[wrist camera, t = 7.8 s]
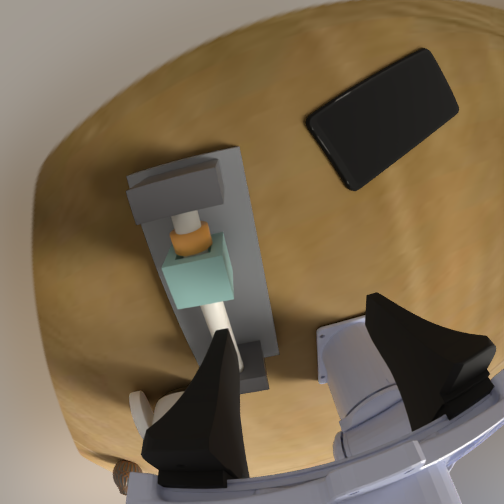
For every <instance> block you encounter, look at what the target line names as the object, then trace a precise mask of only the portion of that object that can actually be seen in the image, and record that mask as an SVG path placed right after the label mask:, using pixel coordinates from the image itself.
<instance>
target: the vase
mask: <svg viewBox="0 0 504 504" xmlns="http://www.w3.org/2000/svg"><path fill="white" fill-rule="evenodd" d="M130 472H140V473H142V470H141V468H140V467H139V466H138V465H137V464H135V463H133V462H130V461H125V460H122V461H120V462H118V463H117V464H116V465H115V467H114V470H113V479H114V482H115V484H116V485H117V487H118V488H119V491H120V493H121V494H123V495H127V490H128V482H129V475H130Z"/></svg>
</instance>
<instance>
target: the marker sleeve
mask: <svg viewBox="0 0 504 504" xmlns="http://www.w3.org/2000/svg"><path fill="white" fill-rule="evenodd" d="M211 238H212V241H213V243H212V245H211V246H210V247H209V248H208V251H209V253H206V254H201V255H196V256H191V257H187V258H184V257H183V256H179V255H177V254H176V253H175V250H174V247H173V244H172V245H171V247H170V249H169V252H168V254H167V256H166V258H165V261H164V263H163V265H162V271H163V274H164V276H165V279H166V281H167V284H168V287H169V289H170V292H171V294H172V297H173V299H174V302H175V304H176V306H177V309H183V308H189V307H195V306H200V305H206V304H212V303H217V302H222V301H228V300H233V299H234V288H233V270H232V266H231V262H230V258H229V254H228V250H227V246H226V242H225V238H224V234H223V232H219V233H215V234H211Z"/></svg>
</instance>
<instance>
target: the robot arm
mask: <svg viewBox="0 0 504 504" xmlns="http://www.w3.org/2000/svg"><path fill="white" fill-rule="evenodd" d="M316 333H317V356H318V382H319V384H324V383H328V386H329V388H330V391H331V394H332V397H333V400H334V403H335V405H336V408H337V411H338V414H339V417H340V419H341V420H340V421H339V423H340V426H341V429H342V431H340V432H338V433H337V434H336V436H335V440H334V442H333V454H334V458H335V461H334V462H330V463H327V464H323V465H319V466H315V467H311V468H306V469H302V470H297V471H292V472H287V473H281V474H275V475H269V476H261V477H253V478H250V477H249V472H248V466H247V461H246V455H245V449H244V442H243V435H242V427H241V419H240V370H239V361H238V355H237V352H236V349H235V346H234V343H233V340H232V338H231V335H230V332H229V329H228V328H226V329H220V330H216V331H215V333H214V336H213V339H212V341H211V344H210V346H209V349H208V351H207V353H206V355H205V357H204V359H203V362H202V364H201V365H200V367H199V369H198V371H197V373H196V375H195V376H194V378H193V380H192V381H191V383H190V384H189V386H188V387H187V389H186V390H185V391H184V393H183V394H182V395H181V397H180V398H179V399H178V400H177V402H176V403H175V404H174V405H173V406H172V407H171V408H170V409H169V410H168V411H167V412H166V413H165V414H164V415H163V416H162V417H161V418H160V419H159V420H158V421H157V422H155V423H154V424H153V425H152V426H151V427H149V428H148V429H147V430H146V433H145V436H144V440H143V446H142V452H141V455H142V457H143V459H144V460H145V461H147V462H148V463H149V464H151V465H152V466H154V467H155V468H157V469H158V470H159V473H158V475H154V474H149V473H140V472H130V475H129V482H128V490H127V498H126V504H462V503H461V500H460V498H459V495H458V492H457V490H456V488H455V485H454V483H453V481H452V478H451V476H450V474H449V472H450V470H451V469H452V467H453V465H454V464H455V462H456V461H457V460H459V459H460V458H462V457H463V456H464V455H466V454H467V453H469V452H470V451H471V450H473V449H474V448H475V447H477V446H478V445H479V444H480V443H482V442H483V441H484V440H486V439H487V438H488V437H489V436H490V435H492V434H493V433H494V432H495V431H497V430H498V429H499V428H500V427H501V426H502V425H503V424H504V369H503V370H502V371H500V372H499V373H498V374H496V375H495V376H494V377H493V378H492V379H491V380H490V379H489V378H488V376H489V375H490V373H489V372H488V370H487V368H488V366H489V364H490V363H491V361H492V359H493V357H494V355H495V352H496V346H495V345H494V344H493V342H492V341H491V340H490V339H489V338H488V337H487V336H484V335H475V334H468V333H463V332H459V331H455V330H451V329H448V328H445V327H442V326H439V325H436V324H434V323H432V322H429V321H427V320H425V319H423V318H421V317H419V316H417V315H415V314H413V313H411V312H409V311H407V310H406V309H404V308H402V307H401V306H399V305H397V304H396V303H394V302H392V301H391V300H389V299H387V298H386V297H384V296H383V295H381V294H379V293H377V292H376V293H373V294H369V295H367V299H366V315H363V316H360V317H356V318H353V319H349V320H346V321H342V322H338V323H335V324H331V325H327V326H323V327H320V328H318V329H317V332H316ZM321 335H322V336H321Z"/></svg>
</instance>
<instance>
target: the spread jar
mask: <svg viewBox="0 0 504 504" xmlns="http://www.w3.org/2000/svg"><path fill="white" fill-rule="evenodd" d="M186 389H187V387H183V388H179V389H176V390H173V391H171V392H169V393H167V394H166V395H164V396H163V397H161V398H160V399H159V400H158V402H157V404H156V406H155V410H154V414H153V411H152V409H151V406H150V404H149V402H148V399H147V397H146V396H145V394H144V393H143V392H142V391H136V392H131V393H130V395H129V403H130V409H131V413H132V417H133V420H134V422H135V425H136V427H137V430H138V432H139V434H140V435H141V437H142V438H143V440H144V436H145V433H146V430H147V429H148V428H149V427H151V426H152V425H153V424H154V423H155V422H157V421H158V420H159V419H160V418H161V417H162V416H163V415H164V414H165V413H166V412H167V411H168V410H169V409H170V408H171V407H172V406H173V405H174V404H175V403H176V402H177V400H178V399H179V398H180V397H181V395H182V394H183V393H184V391H185V390H186Z"/></svg>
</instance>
